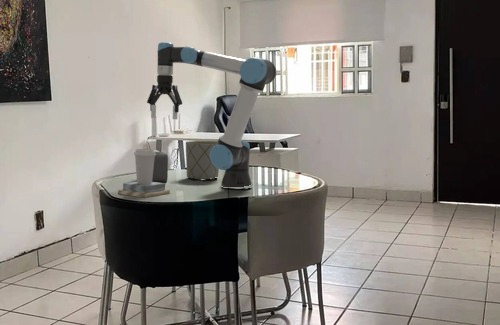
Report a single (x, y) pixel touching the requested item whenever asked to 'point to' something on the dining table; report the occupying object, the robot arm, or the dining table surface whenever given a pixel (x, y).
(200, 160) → the planter
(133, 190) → the pedestal
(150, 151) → the coffee cup
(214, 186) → the dining table surface
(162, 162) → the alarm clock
